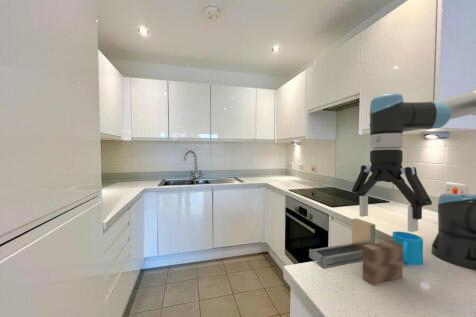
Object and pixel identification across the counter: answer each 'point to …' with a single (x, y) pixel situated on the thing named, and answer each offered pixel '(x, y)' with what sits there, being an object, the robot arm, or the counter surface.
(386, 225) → the counter surface
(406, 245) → the mug
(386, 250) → the door panel
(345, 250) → the door track
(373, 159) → the robot arm
